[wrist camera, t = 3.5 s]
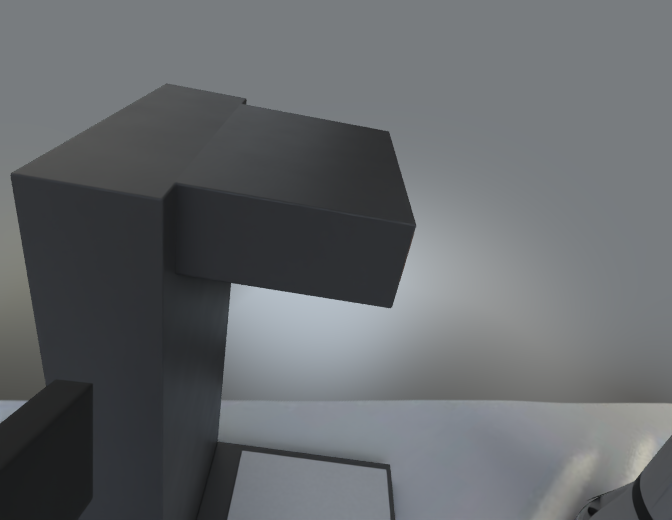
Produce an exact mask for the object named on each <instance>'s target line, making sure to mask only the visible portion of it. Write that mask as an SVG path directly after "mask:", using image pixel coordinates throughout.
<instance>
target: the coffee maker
mask: <svg viewBox="0 0 672 520" xmlns="http://www.w3.org/2000/svg"><path fill="white" fill-rule="evenodd" d="M11 181H12V187H13V193H14V199H15V205H16V211H17V216H18V223H19V228H20V234H21V240H22V246H23V252H24V258H25V264H26V270H27V276H28V281H29V287H30V293H31V300H32V305H33V311H34V317H35V323H36V329H37V334H38V341H39V346H40V353H41V359H42V365H43V370H44V376H45V382H46V386H48V385H49V384H50V383H51V382H53V381H54V380H55V379H58V380H67V381H76V382H85V383H93V499H92V500H91V502H90V503H89V505H88V506H87V507H86V509H85V510H84V512H83V513H82V514H81V516H80V517H79V519H78V520H395V513H394V502H393V491H392V481H391V470H390V465H388V464H380V463H373V462H366V461H358V460H351V459H343V458H336V457H328V456H321V455H313V454H306V453H298V452H291V451H283V450H276V449H268V448H261V447H253V446H246V445H238V444H231V443H224V442H217V441H218V429H219V417H220V406H221V394H222V393H221V392H222V382H223V369H224V357H225V347H226V335H227V324H228V312H229V300H230V288H231V283H235V284H241V285H248V286H254V287H260V288H266V289H273V290H280V291H285V292H292V293H298V294H304V295H310V296H317V297H323V298H329V299H335V300H342V301H348V302H354V303H361V304H367V305H374V306H380V307H386V308H391V307H392V305H393V302H394V299H395V295H396V292H397V289H398V285H399V282H400V279H401V276H402V272H403V269H404V266H405V262H406V259H407V256H408V252H409V249H410V246H411V242H412V239H413V235H414V231H415V228H416V223H415V220H414V216H413V213H412V210H411V206H410V202H409V199H408V196H407V192H406V189H405V185H404V182H403V178H402V175H401V172H400V168H399V165H398V161H397V158H396V154H395V151H394V147H393V144H392V140H391V137H390V134H389V132H388V131H383V130H378V129H372V128H367V127H362V126H356V125H351V124H346V123H340V122H335V121H330V120H325V119H319V118H314V117H308V116H303V115H298V114H292V113H287V112H282V111H277V110H271V109H266V108H261V107H255V106H250V105H246V99H245V98H241V97H235V96H230V95H225V94H219V93H214V92H208V91H203V90H198V89H193V88H188V87H182V86H177V85H171V84H165V85H163V86H161V87H160V88H158V89H156V90H155V91H153V92H151V93H149V94H147V95H146V96H144V97H142V98H141V99H139V100H137V101H135V102H134V103H132V104H130V105H128V106H127V107H125V108H123V109H121V110H120V111H118V112H116V113H115V114H113V115H111V116H109V117H108V118H106V119H105V120H102V121H101V122H99V123H97V124H95V125H94V126H92V127H90V128H89V129H87V130H85V131H83V132H82V133H80V134H78V135H77V136H75V137H73V138H71V139H69V140H68V141H66V142H64V143H63V144H61V145H59V146H57V147H56V148H54V149H52V150H50V151H49V152H47V153H45V154H43V155H42V156H40V157H38V158H37V159H35V160H33V161H31V162H30V163H28V164H26V165H24V166H23V167H21V168H19V169H17V170H16V171H14V172H12V173H11Z"/></svg>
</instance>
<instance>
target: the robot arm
mask: <svg viewBox="0 0 672 520" xmlns="http://www.w3.org/2000/svg"><path fill="white" fill-rule="evenodd" d="M602 495H603V496H601V495H599V496H600V497H599V496H597V497H598V498H596V497H594V498H596V499H595V500H593V501H591V502H590V503H589V504H587V505H586V506H585V507H584V508H583V509H582V510H581V512H580V513H579V514H578V516H577V517H576V518H575V520H672V435H671V437H670V438H669V439H668V440H667V442H666V443H665V444H664V445H663V446H662V448H661V449H660V450H659V451H658V453H657V454H656V455H655V456H654V457H653V459H652V460H651V461H650V462H649V463H648V465H647V466H646V467H645V468H644V470H643V471H642V473H641V474H640V475H639V476H638V478H637V479H636V480H635V481H634V482H632V483H630V484H627V485H625V486H623V487H621V488H618V489H616V490H613V491H610V492H608V493H605V495H604V494H602ZM92 499H93V383H85V382H76V381H67V380H58V379H55V380H54V381H53V382H51V383H50V384H49V385H48V386H46V387H45V388H44V389H43V390H41V391H40V392H39V393H38V394H36V395H35V396H34V397H33V398H32V399H30V400H29V401H28V402H26V403H25V404H24V405H23V406H22V407H20V408H19V409H18V410H17V411H15V412H14V413H13V414H12V415H10V416H9V417H8V418H7V419H5V420H4V421H3V422H2V423H0V520H78V519H79V517H80V516H81V514H82V513H83V512H84V510H85V509H86V507H87V506H88V505H89V503H90V502H91V500H92ZM592 499H593V498H592ZM589 500H590V499H589ZM587 501H588V500H587Z"/></svg>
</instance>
